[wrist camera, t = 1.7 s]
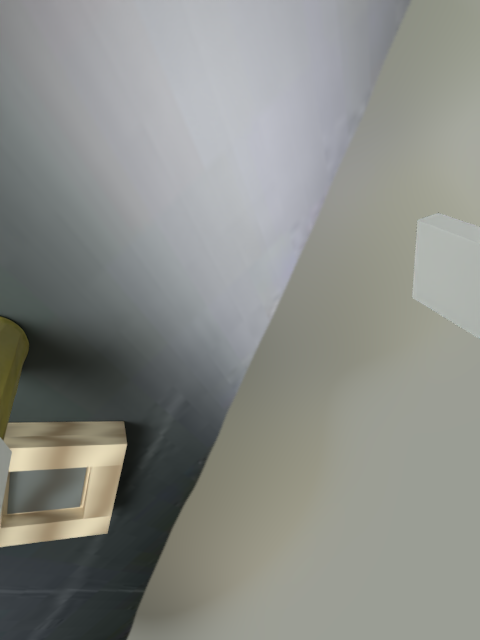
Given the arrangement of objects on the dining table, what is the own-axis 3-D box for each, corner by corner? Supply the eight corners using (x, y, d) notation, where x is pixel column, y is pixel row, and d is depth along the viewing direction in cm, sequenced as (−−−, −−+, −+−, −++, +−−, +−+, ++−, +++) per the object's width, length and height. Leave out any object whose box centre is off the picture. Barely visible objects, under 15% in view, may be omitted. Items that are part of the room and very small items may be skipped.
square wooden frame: (-28, 521, 43) (-35, 551, 41) (-25, 423, 38) (-34, 449, 35) (105, 507, 49) (107, 533, 47) (123, 421, 44) (127, 444, 41)
